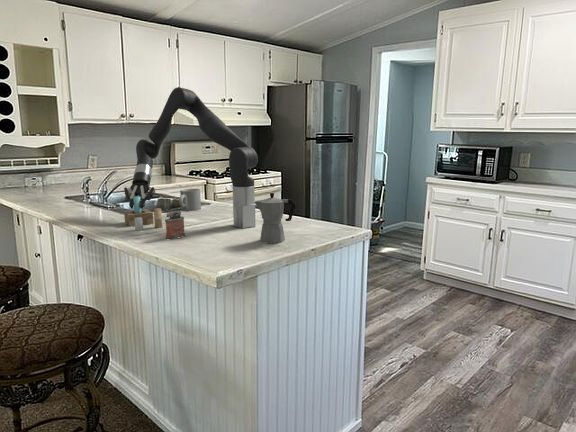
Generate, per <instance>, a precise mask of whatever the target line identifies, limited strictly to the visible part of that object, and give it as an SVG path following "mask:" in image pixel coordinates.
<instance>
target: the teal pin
mask: <svg viewBox="0 0 576 432" xmlns="http://www.w3.org/2000/svg"><path fill="white" fill-rule="evenodd" d="M141 199H142V196H141V195H138V196H135V197H133V201H134V206H133V210H134V213H142V211H141V210H142V208H141V207H140V203H141Z"/></svg>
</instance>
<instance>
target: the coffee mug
mask: <svg viewBox="0 0 576 432" xmlns="http://www.w3.org/2000/svg"><path fill="white" fill-rule="evenodd" d="M179 192H180V193H179V194H180V196H179V199H178V202H179V205H180V208H181V211H185V212H191V211H193V212H194V211H200V210H202V203H201V202H202V201H201V189H200V188H182V189H180V190H179Z"/></svg>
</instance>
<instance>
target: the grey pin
mask: <svg viewBox="0 0 576 432" xmlns="http://www.w3.org/2000/svg"><path fill="white" fill-rule="evenodd" d="M134 227H135V231H136V230H138V232H141V231H143V230H144V225H143V222H142V218H141V217H138V218H135V226H134ZM140 230H141V231H140Z"/></svg>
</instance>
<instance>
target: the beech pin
mask: <svg viewBox="0 0 576 432" xmlns="http://www.w3.org/2000/svg"><path fill="white" fill-rule="evenodd" d="M162 219H163V217H162V208H161V207H160V208H159V207H157V208H153V222H154V228H155V229H161V228H163V220H162Z"/></svg>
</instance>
